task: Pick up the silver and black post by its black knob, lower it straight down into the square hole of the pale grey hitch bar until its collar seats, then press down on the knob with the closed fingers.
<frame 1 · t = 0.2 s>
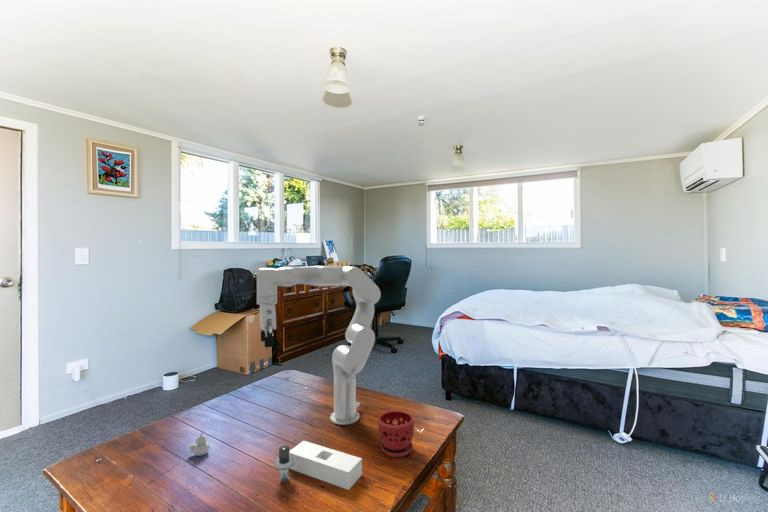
hand: (267, 343, 134), 37 cm above the table, tool pointing down, fingers open, 9 cm apart
plant pot: (395, 450, 126), on the table
silver and black post: (284, 479, 110), on the table
hitch bar: (324, 471, 114), on the table
grey rounded lumpy piece: (199, 454, 124), on the table
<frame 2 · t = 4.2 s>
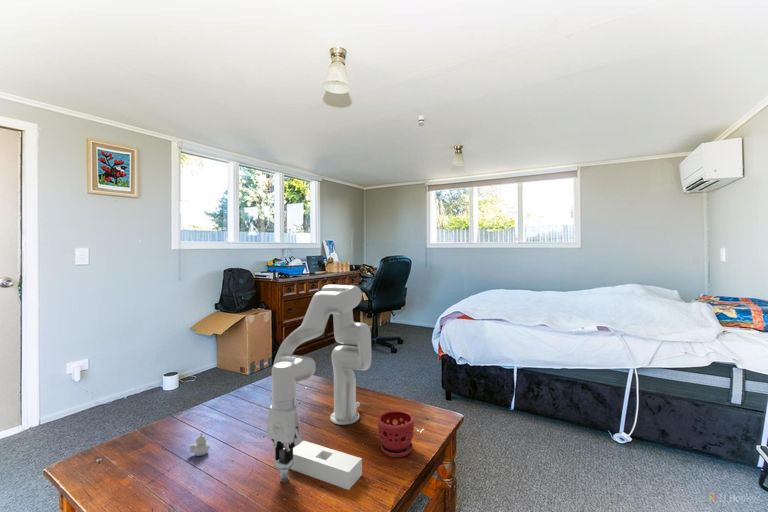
hand: (284, 459, 110), 7 cm above the table, tool pointing down, fingers closed on silver and black post, 3 cm apart
silver and black post: (284, 479, 110), on the table, touching gripper
everything else where it was.
when the fingers open (8 cm above the table, at t = 9.8 s): silver and black post stays where it is, resting on hitch bar.
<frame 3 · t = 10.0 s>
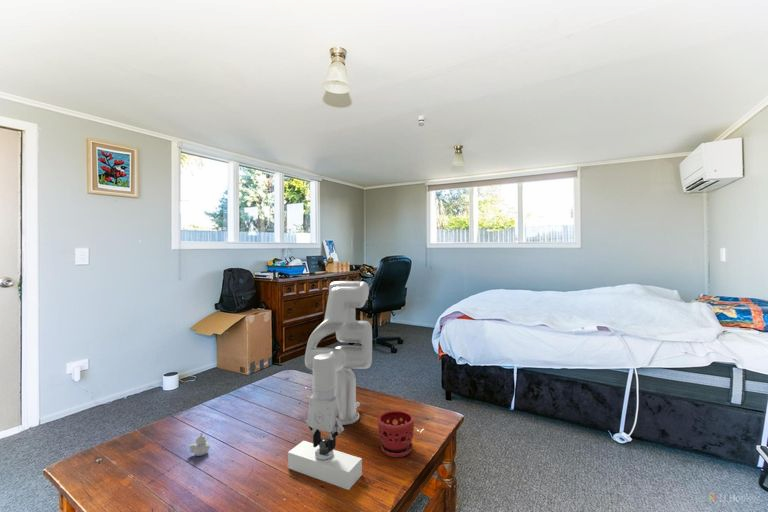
hand: (324, 446, 114), 8 cm above the table, tool pointing down, fingers open, 5 cm apart
silver and black post: (324, 470, 114), resting on hitch bar
everything else where it was.
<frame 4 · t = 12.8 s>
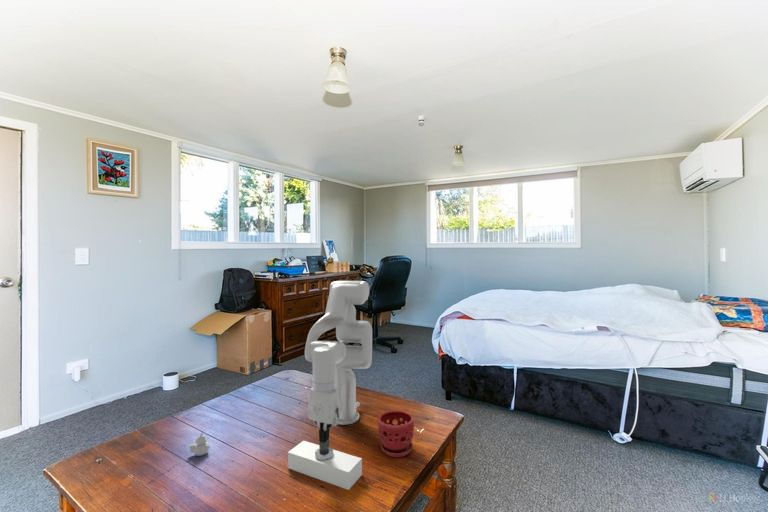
hand: (324, 440, 114), 10 cm above the table, tool pointing down, fingers closed
silver and black post: (324, 470, 114), resting on hitch bar, touching gripper
everything else where it was.
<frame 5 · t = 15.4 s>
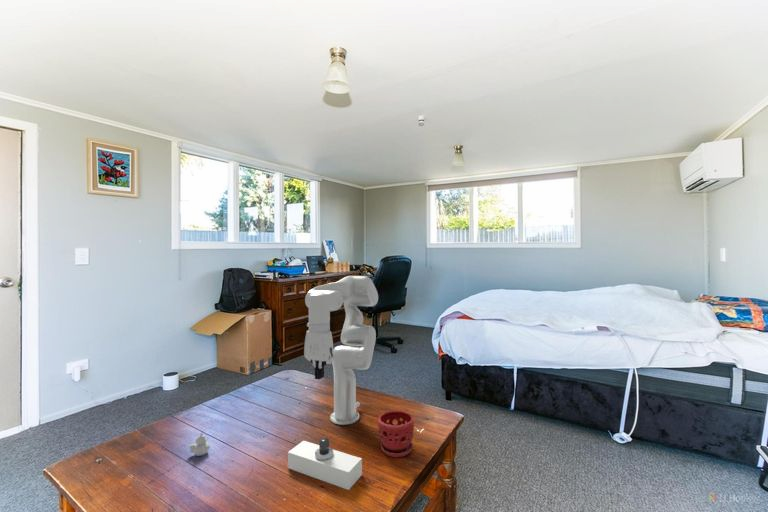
hand: (319, 378, 124), 27 cm above the table, tool pointing down, fingers closed
silver and black post: (324, 470, 114), resting on hitch bar
everything else where it was.
at the end: silver and black post 0.0 cm off-centre on the hitch bar, point 0.4 cm above the hitch bar's base; silver and black post tilted 0°; the gripper is holding nothing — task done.
